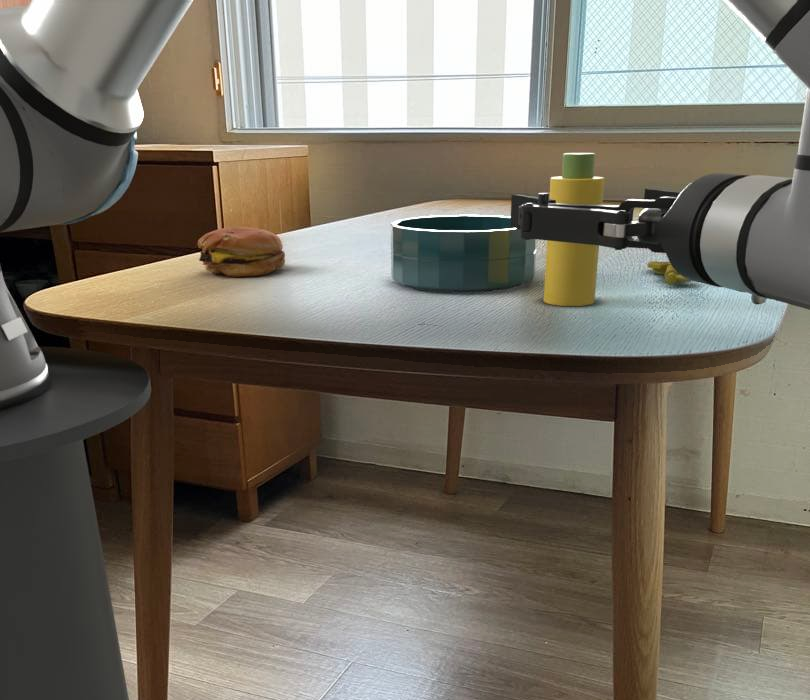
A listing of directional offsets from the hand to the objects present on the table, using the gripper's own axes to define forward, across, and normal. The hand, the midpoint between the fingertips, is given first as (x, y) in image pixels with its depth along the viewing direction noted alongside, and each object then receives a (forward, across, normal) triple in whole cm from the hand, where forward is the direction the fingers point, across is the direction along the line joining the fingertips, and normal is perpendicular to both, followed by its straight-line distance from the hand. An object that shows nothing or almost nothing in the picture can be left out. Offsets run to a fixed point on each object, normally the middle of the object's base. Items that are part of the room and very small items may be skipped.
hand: (582, 207), depth 80 cm
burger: (+32, -25, -9) cm, 42 cm away
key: (+9, +17, -9) cm, 21 cm away
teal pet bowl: (+16, -5, -9) cm, 18 cm away
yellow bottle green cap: (+1, 0, -9) cm, 9 cm away
